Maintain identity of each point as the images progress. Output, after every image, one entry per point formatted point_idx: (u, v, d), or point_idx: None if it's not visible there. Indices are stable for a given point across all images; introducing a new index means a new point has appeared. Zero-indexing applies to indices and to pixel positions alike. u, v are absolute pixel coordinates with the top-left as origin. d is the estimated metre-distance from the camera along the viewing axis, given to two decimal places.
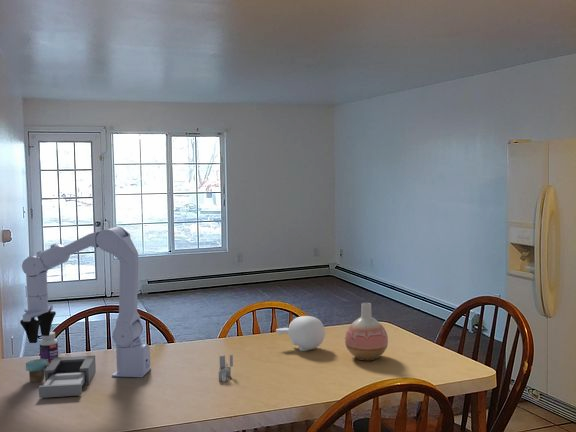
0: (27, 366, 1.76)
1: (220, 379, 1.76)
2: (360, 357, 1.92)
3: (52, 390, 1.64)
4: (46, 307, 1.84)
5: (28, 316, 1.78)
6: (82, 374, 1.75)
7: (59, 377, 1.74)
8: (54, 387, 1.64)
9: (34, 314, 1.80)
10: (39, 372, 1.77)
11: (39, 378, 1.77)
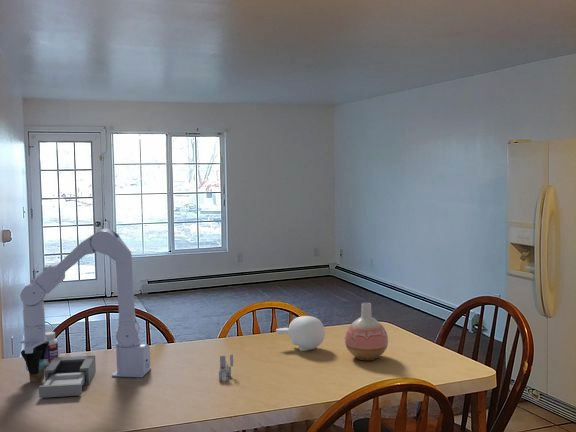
0: None
1: (220, 379, 1.76)
2: (360, 357, 1.92)
3: (52, 390, 1.64)
4: (44, 337, 1.78)
5: (31, 348, 1.71)
6: (82, 374, 1.75)
7: (59, 377, 1.74)
8: (54, 387, 1.64)
9: (35, 345, 1.73)
10: (39, 372, 1.77)
11: (39, 378, 1.77)
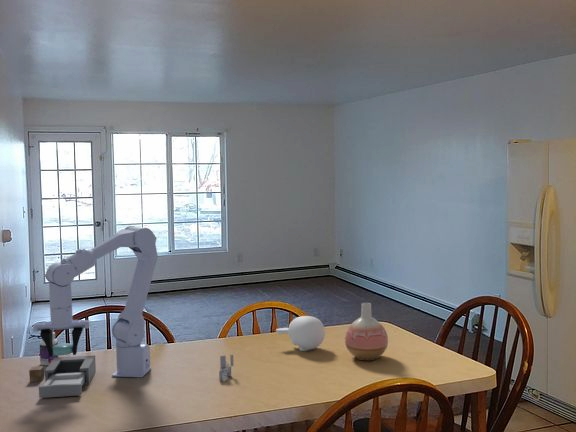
0: None
1: (221, 379, 1.76)
2: (360, 357, 1.92)
3: (52, 390, 1.64)
4: (58, 322, 1.67)
5: None
6: (82, 374, 1.75)
7: (59, 377, 1.74)
8: (54, 387, 1.64)
9: (41, 326, 1.67)
10: (39, 372, 1.77)
11: (39, 378, 1.77)
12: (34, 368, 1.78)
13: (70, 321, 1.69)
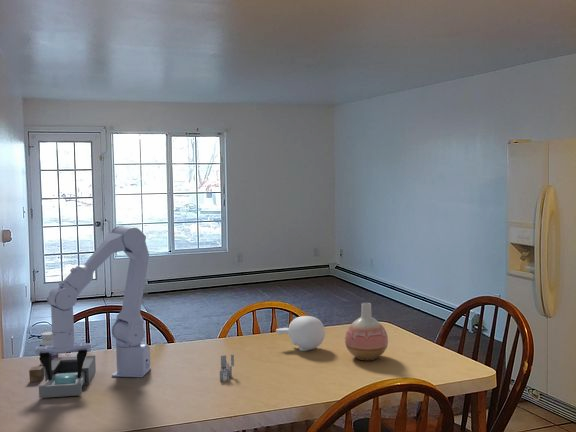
0: None
1: (221, 379, 1.76)
2: (360, 357, 1.92)
3: (52, 390, 1.64)
4: (61, 346, 1.67)
5: None
6: (82, 374, 1.75)
7: None
8: (54, 387, 1.64)
9: (43, 349, 1.67)
10: (39, 372, 1.77)
11: (39, 378, 1.77)
12: (34, 368, 1.78)
13: (72, 345, 1.69)
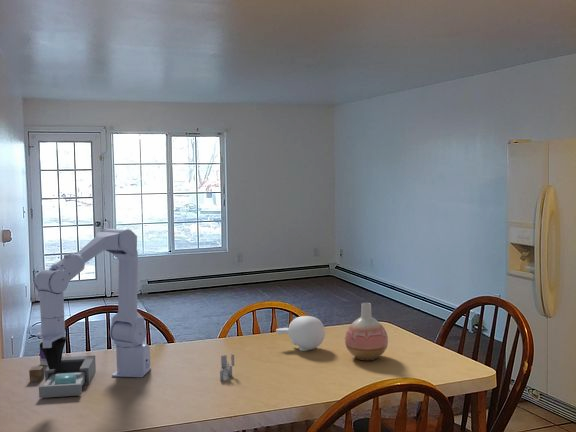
0: None
1: (221, 378, 1.76)
2: (360, 357, 1.92)
3: (52, 390, 1.64)
4: (64, 330, 1.59)
5: (49, 342, 1.51)
6: (82, 374, 1.75)
7: None
8: (54, 387, 1.64)
9: (54, 339, 1.54)
10: (39, 372, 1.77)
11: (39, 378, 1.77)
12: (34, 368, 1.78)
13: None
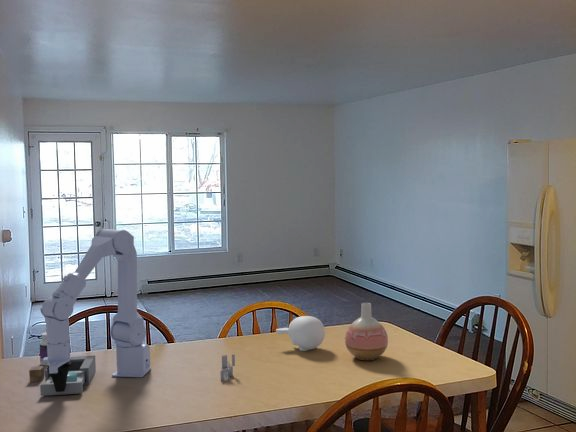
0: None
1: (222, 378, 1.77)
2: (360, 357, 1.92)
3: (53, 388, 1.66)
4: (69, 354, 1.64)
5: (56, 367, 1.57)
6: (83, 372, 1.76)
7: None
8: None
9: (60, 364, 1.59)
10: (39, 372, 1.77)
11: (39, 378, 1.77)
12: (34, 368, 1.78)
13: None
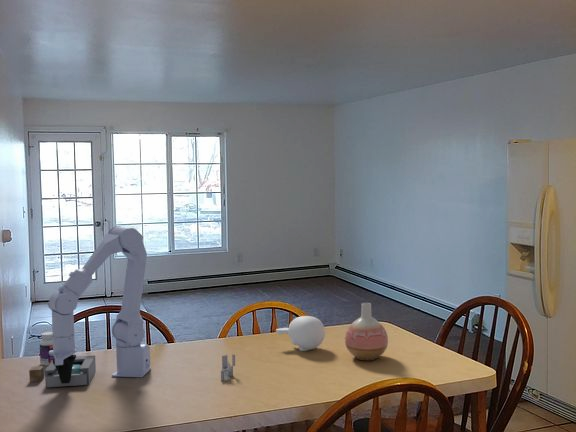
0: None
1: (222, 378, 1.77)
2: (360, 357, 1.92)
3: (59, 380, 1.72)
4: (74, 347, 1.70)
5: (61, 359, 1.63)
6: None
7: None
8: None
9: (65, 356, 1.66)
10: (39, 372, 1.77)
11: (39, 378, 1.77)
12: (34, 368, 1.78)
13: None
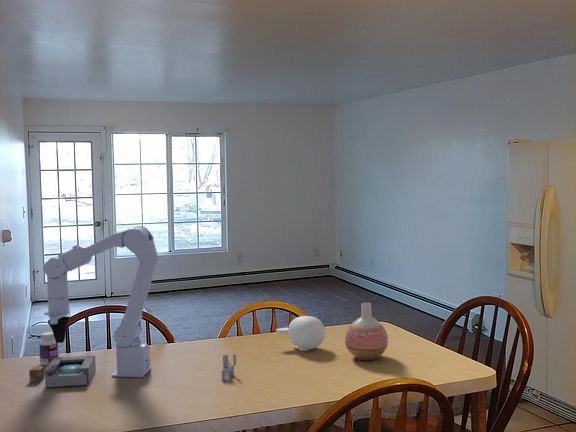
0: None
1: (223, 378, 1.77)
2: (360, 357, 1.92)
3: (59, 380, 1.72)
4: (68, 309, 1.82)
5: (56, 318, 1.75)
6: None
7: None
8: (60, 377, 1.72)
9: (60, 316, 1.77)
10: (39, 372, 1.77)
11: (39, 378, 1.77)
12: (34, 368, 1.78)
13: None
